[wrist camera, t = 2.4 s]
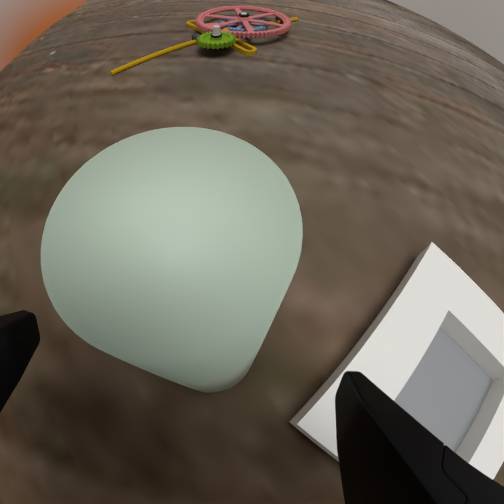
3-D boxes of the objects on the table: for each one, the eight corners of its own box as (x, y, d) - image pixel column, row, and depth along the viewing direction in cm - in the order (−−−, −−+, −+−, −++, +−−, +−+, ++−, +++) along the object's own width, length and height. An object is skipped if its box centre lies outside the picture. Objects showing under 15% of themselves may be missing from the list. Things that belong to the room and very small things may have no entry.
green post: (209, 410, 15) (145, 429, 4) (148, 346, 17) (11, 222, 5) (272, 348, 17) (355, 221, 6) (210, 289, 19) (184, 101, 7)
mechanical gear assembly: (332, 38, 37) (264, 11, 43) (336, 15, 34) (265, -9, 39) (138, 102, 27) (95, 64, 33) (130, 67, 24) (88, 39, 29)
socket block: (435, 526, 11) (455, 534, 9) (288, 421, 15) (296, 424, 13) (523, 368, 16) (543, 361, 14) (415, 258, 20) (431, 242, 18)
